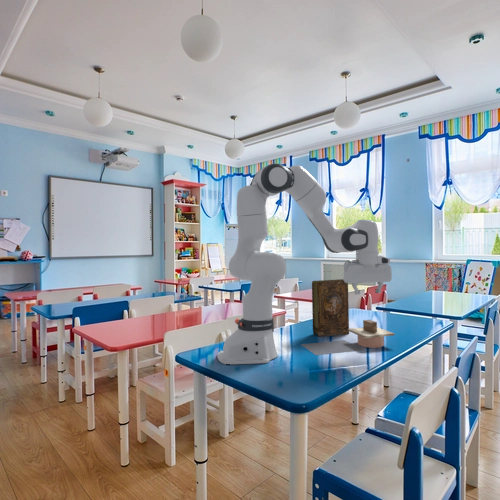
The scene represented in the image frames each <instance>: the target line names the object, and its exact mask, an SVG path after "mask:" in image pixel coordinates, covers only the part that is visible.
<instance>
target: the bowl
mask: <svg viewBox="0 0 500 500" xmlns="http://www.w3.org/2000/svg"><path fill="white" fill-rule="evenodd" d="M357 345H358V346H359V347H360V346H361V347H364V348H373V349H375V348H377V349H378V348H382V347H384V346H385V336H383V337H372V338H363V337H361V336H359V335H357Z"/></svg>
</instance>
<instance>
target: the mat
mask: <svg viewBox="0 0 500 500" xmlns="http://www.w3.org/2000/svg"><path fill="white" fill-rule="evenodd" d="M300 346H301V347H303V348H305V349H306V350H308V351H310V352H311V353H312V354H313V355H315V356H320V355H329V354H330V355H332V354H338V353H339V354H341V353H350V352H351V353H352V352H360V351H364V349H363V348H361V347H360V346H357V345H355V344H353V343H351V342H349V341H347V340H333V341H323V342H312V343H303V344H301V343H300Z"/></svg>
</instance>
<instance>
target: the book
mask: <svg viewBox="0 0 500 500" xmlns="http://www.w3.org/2000/svg"><path fill="white" fill-rule="evenodd" d="M311 306H312V310H311V311H312V334H313V335H317V336H318V338H322V337H323V338H324V337H332V336H343V335H350V331H348V329H350V315H349V314H350V312H349V311H350V309H349V283H345V282H344V280H343V279H324V280H321V279H320V280H312V282H311Z"/></svg>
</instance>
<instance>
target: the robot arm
mask: <svg viewBox="0 0 500 500" xmlns="http://www.w3.org/2000/svg"><path fill="white" fill-rule="evenodd" d="M251 179H252V180H250V181H251V182H250V183H249V185H244V186H241V188H240V189H239V190H238V192H237V195H236V220H237V221H236V222H237V235H238V236H237V237H238V238H237V245H236V249H235V252H234V254H233V256H232V257H230V260H229V261H228V271H229V273H230V274H231V276H232V277H234V278H236V279H238V280H241V281H244V282H246V281H248V282H251V283H250V287H249V290H248V292H247V293H245V294H244V296H243V297H242V318H241V319H240V318H235V319H234V322H235V324H236V325H237V329H236V330H235V331H234V332H233V333H231V334H230V335H228V337H226V339H224V342H223V347H222V350H220V351H218V353H217V360H218V361H219V363H221V364H223V365H226V364H230V365H252V364H253V365H255V364H268V363H269V362H270V361H271V360H273V359H275V358H277V357H278V352H277V348H276V343H275V338H274V332H275V321H274V317H273V299H274V298H273V296H274V293H275V289H276V286H277V285H278V283H279V282H280V281H281V280H282V279H283V278H284V276H285V275H286V272H287V262H286V260H285V258H284V256H282V255H280V254H278V253H275V252H270V251H267V252H266V251H265V252H262V251H261V247H262V245H263V244H262V243H263V241H264V240H265V239H267V238H268V235H269V229H268V215H267V208H266V205H267V200H268V198H269V197H273V196H276V195H278V194H280V193H283V192H286V193H287V194H289V196H291V197H292V199H293V200H294V201H295V202H296V203H297V205H298V206H299V207H300V208H301V209H302V211H303V213H304V214H305V215H306V217H307V219H308V220H309V221H310V223H311V224H312V226H313V227H314V228H315V229H316V230H317V232H318V234H319V235H320V237H321V238H322V239H321V240H322V241H323V242H322V243H324V246H325V248H326V250H327V251H329V252H330V253H333V254H338V253H353V252H355V259H353V260H352V259H349V260H346V261H344V264H343V270H344V271H343V280H344V282H345V283H348V284H351V287H352V288H353V290H354V295H360V294H361V290H360V289H359V288H358V286H359V285H358V284H367V283H368V284H369V283H377V287H376V288H375V289H374V293H375V294H381V293H382V289H383V287H384V283H386V282H389V283H390V282H391V281H392V278H393V275H392V267H391V265H390V263H391V259H390V258H389V257H385V256H384V255H383V256H382V255H380V253H379V248H378V247H379V246H378V245H379V228H378V225H377V222H375V221H374V220H371V219H358V220H357V221H356V222H355V223H353V224H351V225H350V226H347V227H345V228H338V227H335V226H333V224H332V222H331V221H330V220H329V219H328V217H327V216H326V214H325V213H324V210H323V208H324V206H325V204H326V202H327V193H326V192H325V189H324V188H323V187H322V185H321V183H319V181H317V179H316V178H315V177H314V176H313V175H312V174H311V173H310V172H309V171H307V170H306V169H305V168H304V167H303V166H301V165H297V164H295V165H292V166H290V167H287V166H285V165H283V164H281V163H271V164H270V163H269V164H267V166H263V167H262V168H261V169H259V170H258V171H257V172H256V173H255V174H254V175H253V177H252V178H251Z"/></svg>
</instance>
